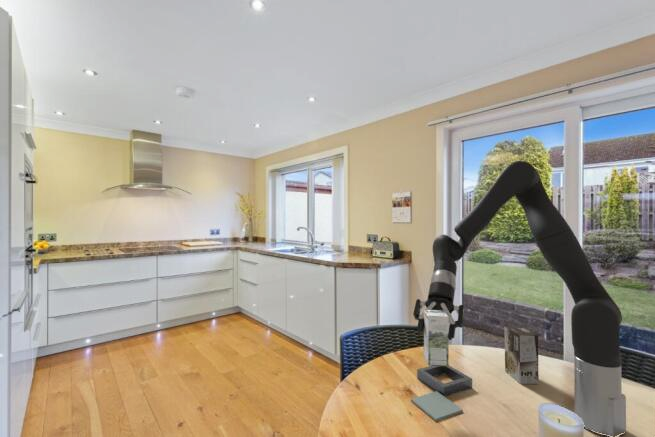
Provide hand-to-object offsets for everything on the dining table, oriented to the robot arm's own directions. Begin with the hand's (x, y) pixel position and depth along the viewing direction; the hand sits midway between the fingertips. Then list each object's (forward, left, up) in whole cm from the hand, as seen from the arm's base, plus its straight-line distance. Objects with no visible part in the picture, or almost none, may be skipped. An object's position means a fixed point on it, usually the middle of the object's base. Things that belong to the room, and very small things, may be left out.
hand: (434, 335), depth 86 cm
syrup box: (+1, -1, -8) cm, 8 cm away
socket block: (+9, -13, -21) cm, 26 cm away
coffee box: (+1, -40, -21) cm, 45 cm away
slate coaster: (+1, -1, -21) cm, 21 cm away
